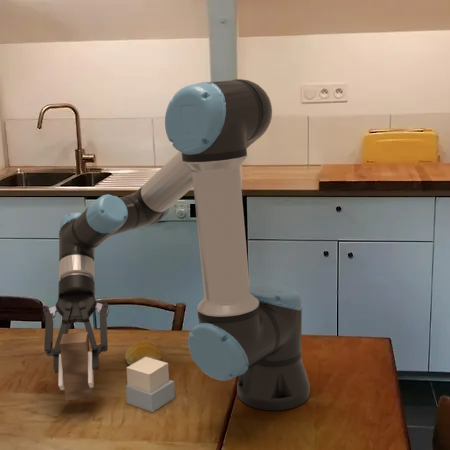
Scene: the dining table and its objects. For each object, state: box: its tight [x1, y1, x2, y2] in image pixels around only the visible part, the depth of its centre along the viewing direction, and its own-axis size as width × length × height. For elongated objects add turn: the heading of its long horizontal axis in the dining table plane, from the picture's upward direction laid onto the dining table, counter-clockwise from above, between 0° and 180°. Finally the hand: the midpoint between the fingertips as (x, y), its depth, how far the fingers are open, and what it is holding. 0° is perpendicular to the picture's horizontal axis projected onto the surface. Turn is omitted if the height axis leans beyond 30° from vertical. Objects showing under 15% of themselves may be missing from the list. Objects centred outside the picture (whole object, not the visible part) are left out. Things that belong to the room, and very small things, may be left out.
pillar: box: [60, 331, 94, 401], centre depth 141 cm, size 5×5×12 cm
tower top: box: [126, 357, 170, 393], centre depth 144 cm, size 6×6×4 cm
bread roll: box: [124, 341, 162, 366], centre depth 164 cm, size 8×9×4 cm
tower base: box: [125, 379, 176, 413], centre depth 145 cm, size 7×7×4 cm
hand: (76, 386), depth 138 cm, fingers closed on pillar, 5 cm apart
